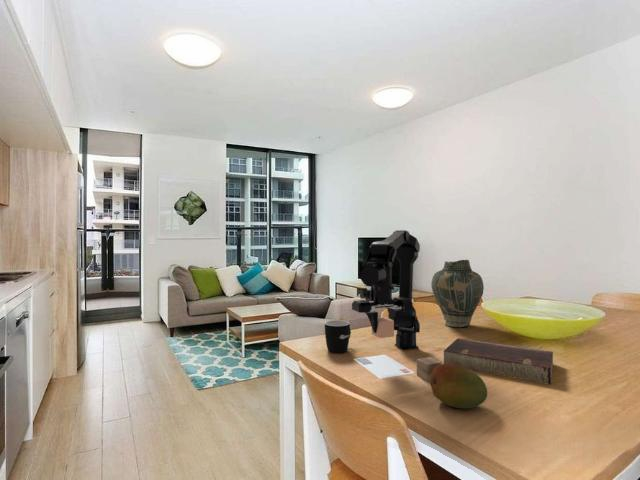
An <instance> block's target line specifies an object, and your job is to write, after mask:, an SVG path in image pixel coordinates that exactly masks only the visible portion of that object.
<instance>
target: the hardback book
mask: <svg viewBox="0 0 640 480" xmlns="http://www.w3.org/2000/svg"><path fill="white" fill-rule="evenodd" d="M445 363H450V364H457V365H460V366H463V367H465V368H468V369H470V370H471V371H474V372H475V371H476V372H480V371H481V372H480V373H486V372H487V373H486V374H491V373H492V375H497V374H499V375H498V376H502V375H505V376H504V377H507V376H511V377H510V378H513V377H516V378H515V379H518V378H522V379H521V380H524V379H526V380H525V381H529V380H532V381H531V382H534V381H537V382H536V383H540V382H541V384H545V383H548V384H547V385H551V384H552V377H553V376H552V375H553V367H554V366H553V365H554V351H552V350H544V349H538V348H530V347H524V346H516V345H510V344H509V345H508V344H503V343H498V342H497V343H495V342H488V341H482V340H474V339H467V338H461V337H458V338H455V340H454V341H453V342H452V343H450V345H448V346H447V347H446V348H445V349H444V350H443V364H445Z"/></svg>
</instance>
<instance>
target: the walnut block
mask: <svg viewBox="0 0 640 480" xmlns="http://www.w3.org/2000/svg"><path fill="white" fill-rule="evenodd" d="M441 364H443V363H442V362H441V361H439V360H438V359H435V358H433V357H431V356H429V357H423V358H417V359H416V375H417V377H419V378H421V379H422V380H423V381H426V382H430V378H431V373H432V371H433V370H434V369H435V368H436V367H437V366H439V365H441Z"/></svg>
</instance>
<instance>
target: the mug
mask: <svg viewBox="0 0 640 480" xmlns="http://www.w3.org/2000/svg"><path fill="white" fill-rule="evenodd" d="M351 334H352V330H351V325H350V322H349V321H347V320H343V319H342V320H341V319H335V320H334V319H333V320H332V319H331V320H328V321H325V323H324V335H325V343H326V348H327V351H328V352H329V353H332V354H344V353H346V352H347V350H348V348H349V343H350V338H351Z"/></svg>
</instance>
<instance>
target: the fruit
mask: <svg viewBox="0 0 640 480" xmlns="http://www.w3.org/2000/svg"><path fill="white" fill-rule="evenodd" d="M429 384H430V387H431V391H432V393H433V394H434V397H435V398H436V399H438V400H439V401H440V402H441V403H443V404H445V405H447V406H450V407H453V408H456V409H472V408H476V407H478V406H480V405H482V404H483V403H485V401H486V400H487V398H488V388H487V385H486V384H485V381H484V380H483V379H482V378H481V377H480V375H478V374H477V373H475V371H474V370H470V369H468V368H465V367H463V366H460V365H457V364H450V363H445V364H444V363H442V364H441V365H439V366H437V367H436V368H435V369H434V370H433V371H432V373H431V378H430V381H429Z"/></svg>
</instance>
